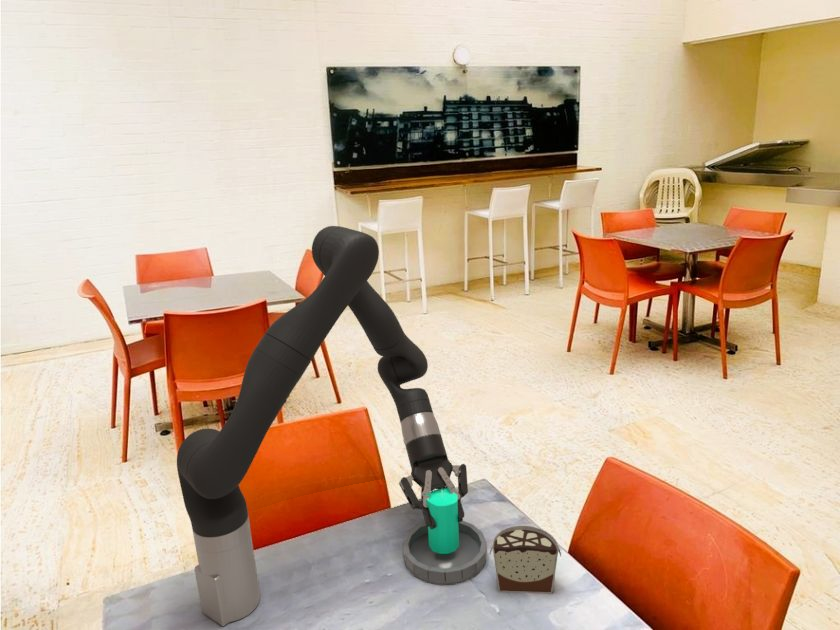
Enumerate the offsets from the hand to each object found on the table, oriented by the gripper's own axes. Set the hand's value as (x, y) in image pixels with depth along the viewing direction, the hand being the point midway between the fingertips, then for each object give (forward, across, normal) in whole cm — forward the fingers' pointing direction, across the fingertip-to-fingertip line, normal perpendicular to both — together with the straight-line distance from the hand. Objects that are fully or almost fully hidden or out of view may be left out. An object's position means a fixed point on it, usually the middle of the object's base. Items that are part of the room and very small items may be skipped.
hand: (446, 524), depth 113 cm
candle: (+3, 0, +6) cm, 6 cm away
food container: (+13, +11, -1) cm, 17 cm away
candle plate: (+5, 0, +7) cm, 8 cm away
